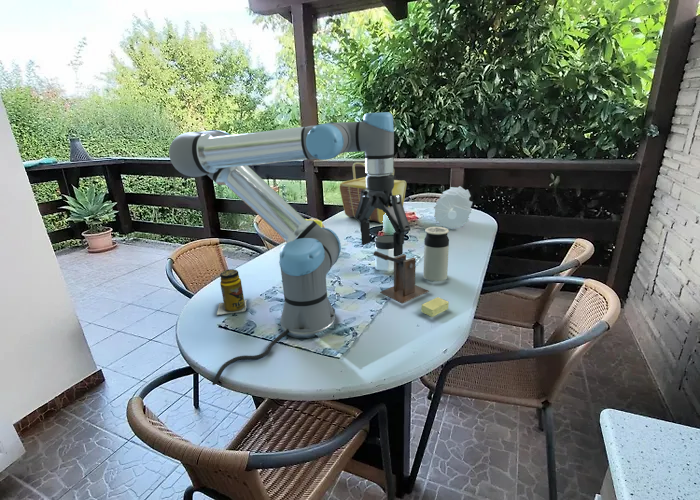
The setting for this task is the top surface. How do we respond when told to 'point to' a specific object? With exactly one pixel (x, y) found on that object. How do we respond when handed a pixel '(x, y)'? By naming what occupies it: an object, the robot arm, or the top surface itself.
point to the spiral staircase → (453, 208)
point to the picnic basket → (353, 194)
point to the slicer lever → (389, 258)
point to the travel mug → (436, 254)
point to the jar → (384, 252)
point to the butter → (434, 306)
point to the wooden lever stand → (404, 282)
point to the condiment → (231, 293)
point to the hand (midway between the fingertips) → (381, 249)
